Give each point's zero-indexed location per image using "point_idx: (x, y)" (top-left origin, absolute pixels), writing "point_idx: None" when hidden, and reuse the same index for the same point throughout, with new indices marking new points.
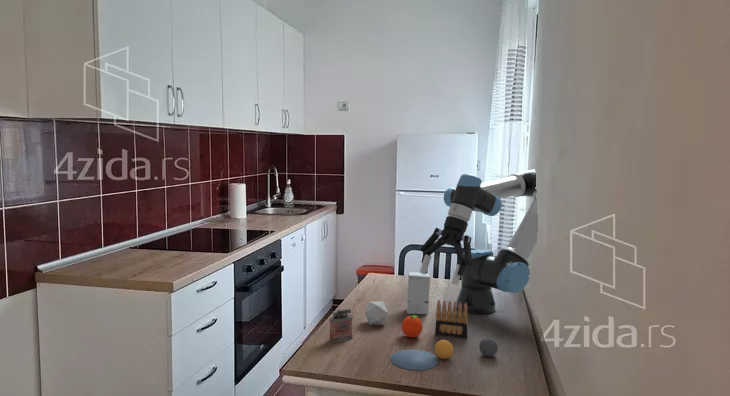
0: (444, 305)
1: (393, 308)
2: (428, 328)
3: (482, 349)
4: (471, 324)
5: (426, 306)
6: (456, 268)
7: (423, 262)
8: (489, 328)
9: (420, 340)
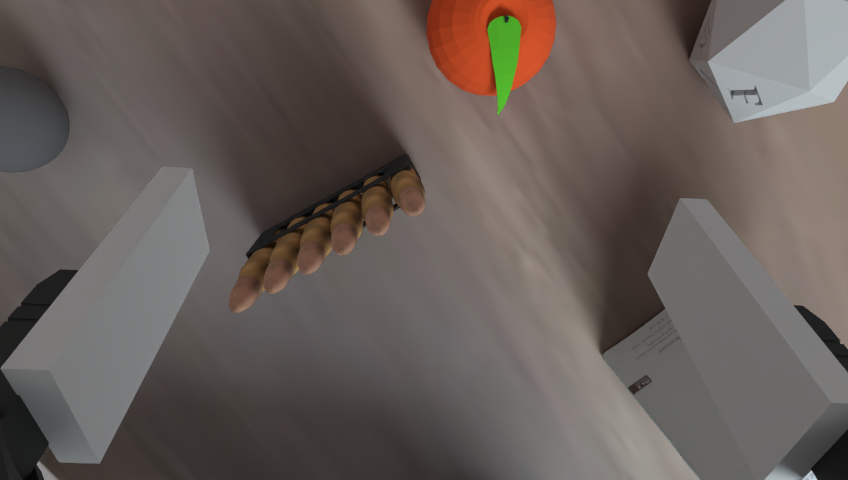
0: (369, 214)
1: None
2: (484, 202)
3: (7, 67)
4: (363, 404)
5: (627, 372)
6: (79, 304)
7: (766, 291)
8: (270, 423)
9: (412, 28)
